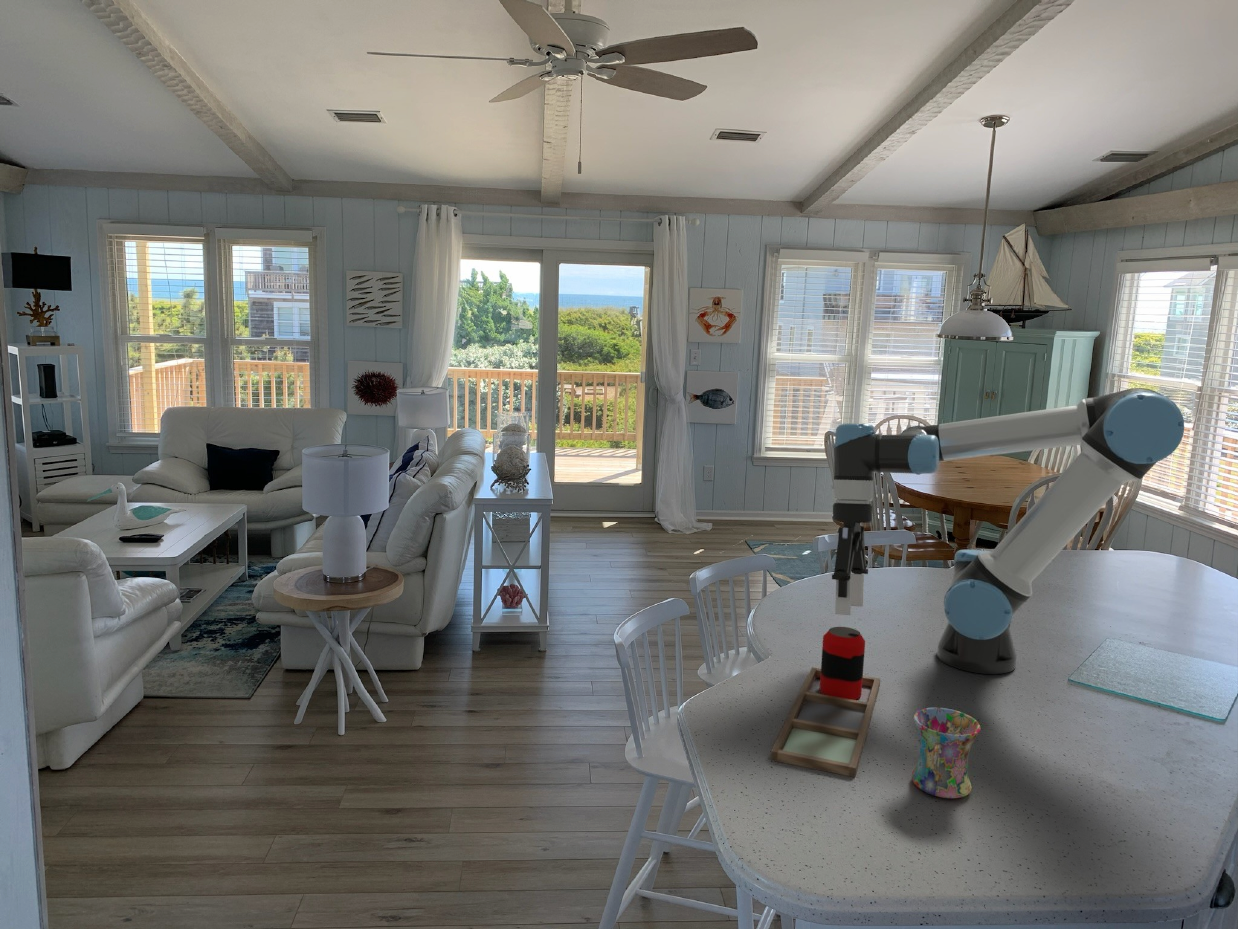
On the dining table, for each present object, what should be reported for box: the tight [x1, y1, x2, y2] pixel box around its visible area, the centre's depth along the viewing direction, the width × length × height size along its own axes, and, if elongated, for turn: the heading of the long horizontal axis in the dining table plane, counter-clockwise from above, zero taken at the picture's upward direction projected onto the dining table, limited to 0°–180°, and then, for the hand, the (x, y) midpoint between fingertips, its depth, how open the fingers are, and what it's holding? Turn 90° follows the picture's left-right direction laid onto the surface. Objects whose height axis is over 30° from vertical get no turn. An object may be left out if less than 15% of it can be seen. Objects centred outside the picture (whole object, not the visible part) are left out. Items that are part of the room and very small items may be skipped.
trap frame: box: [770, 667, 881, 778], centre depth 153 cm, size 13×37×2 cm, turn 158°
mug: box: [911, 707, 981, 799], centre depth 130 cm, size 12×9×11 cm
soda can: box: [819, 626, 866, 700], centre depth 163 cm, size 8×8×12 cm
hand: (849, 610), depth 173 cm, fingers open, 13 cm apart
